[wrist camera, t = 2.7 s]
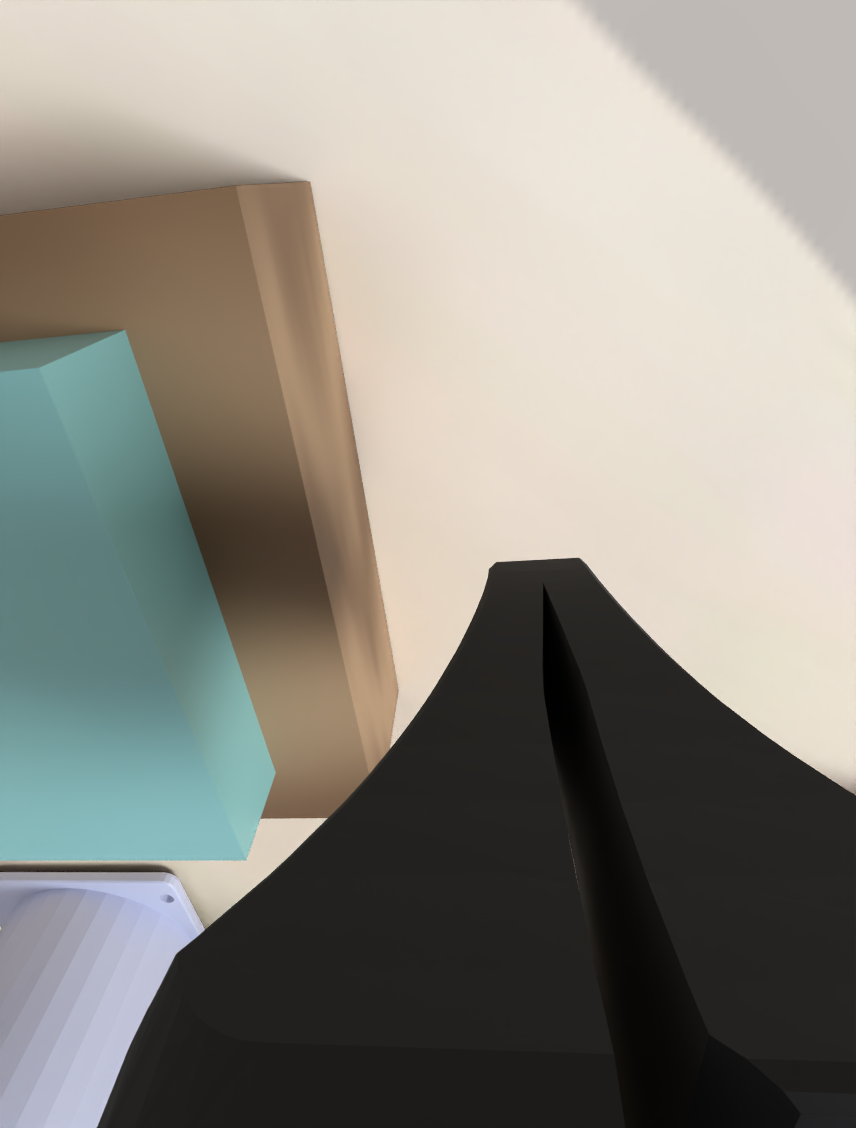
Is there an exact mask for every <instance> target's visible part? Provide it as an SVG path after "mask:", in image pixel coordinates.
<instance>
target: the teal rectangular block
mask: <svg viewBox="0 0 856 1128" xmlns="http://www.w3.org/2000/svg"><path fill="white" fill-rule="evenodd" d="M275 774H276V772H275V769H274V766H273V763H272V760H271V758H270V755H269V752H268V749H267V746H266V743H265V740H264V737H263V734H262V731H261V728H260V725H259V722H258V719H257V716H256V713H255V710H254V708H253V705H252V702H251V699H250V696H249V693H248V690H247V687H246V684H245V681H244V678H243V675H242V672H241V669H240V666H239V663H238V660H237V658H236V655H235V652H234V649H233V646H232V643H231V640H230V637H229V634H228V631H227V628H226V625H225V622H224V619H223V616H222V613H221V610H220V607H219V605H218V602H217V599H216V596H215V593H214V590H213V587H212V584H211V581H210V578H209V575H208V572H207V569H206V566H205V563H204V560H203V557H202V555H201V552H200V549H199V546H198V543H197V540H196V537H195V534H194V531H193V528H192V525H191V522H190V519H189V516H188V513H187V510H186V507H185V505H184V502H183V499H182V496H181V493H180V490H179V487H178V484H177V481H176V478H175V475H174V472H173V469H172V466H171V463H170V460H169V457H168V455H167V452H166V449H165V446H164V443H163V440H162V437H161V434H160V431H159V428H158V425H157V422H156V419H155V416H154V413H153V410H152V407H151V405H150V402H149V399H148V396H147V393H146V390H145V387H144V384H143V381H142V378H141V375H140V372H139V369H138V366H137V363H136V360H135V357H134V355H133V352H132V349H131V346H130V343H129V340H128V337H127V334H126V331H125V330H118V331H108V332H98V333H88V334H79V335H69V336H59V337H49V338H39V339H30V340H20V341H10V342H0V861H28V860H246V859H247V856H248V853H249V851H250V848H251V845H252V842H253V839H254V836H255V833H256V830H257V827H258V824H259V821H260V818H261V815H262V812H263V809H264V806H265V803H266V800H267V797H268V794H269V791H270V788H271V785H272V782H273V779H274V777H275Z"/></svg>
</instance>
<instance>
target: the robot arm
mask: <svg viewBox="0 0 856 1128" xmlns="http://www.w3.org/2000/svg"><path fill="white" fill-rule="evenodd" d="M569 840H570V842H569ZM570 845H571V847H570ZM571 850H572V852H571ZM572 854H573V857H572ZM573 859H574V863H573ZM574 864H575V868H574ZM575 870H576V873H575ZM576 875H577V879H576ZM577 881H578V884H577ZM578 887H579V888H578ZM0 926H1V928H2V929H1V931H0V1128H856V796H855V795H854V794H852V793H851V792H849V791H847V790H846V789H844V788H843V787H841V786H840V785H838V784H837V783H835V782H834V781H832V780H831V779H829V778H828V777H826V776H824V775H823V774H821V773H820V772H818V771H817V770H815V769H814V768H812V767H811V766H809V765H808V764H806V763H805V762H803V761H801V760H800V759H798V758H797V757H795V756H794V755H792V754H791V753H790V752H788V751H787V750H785V749H784V748H782V747H781V746H780V745H778V744H777V743H775V742H774V741H772V740H771V739H770V738H768V737H767V736H765V735H764V734H763V733H761V732H760V731H759V730H757V729H756V728H755V727H753V726H752V725H751V724H749V723H748V722H747V721H746V720H744V719H743V718H742V717H740V716H739V715H738V714H736V713H735V712H734V711H732V710H731V709H730V708H729V707H727V706H726V705H725V704H723V703H722V702H721V701H720V700H718V699H717V698H716V697H715V696H714V695H712V694H711V693H710V692H709V691H708V690H707V689H705V688H704V687H703V686H702V685H701V684H700V683H698V682H697V681H696V680H695V679H694V678H693V677H692V676H691V675H690V674H688V673H687V672H686V671H685V670H684V669H683V668H682V667H681V666H680V665H679V664H677V663H676V662H675V661H674V660H673V659H672V658H671V657H670V656H669V655H668V654H667V653H666V652H665V651H664V650H663V649H662V648H661V647H660V646H659V645H658V644H657V643H656V642H655V641H654V640H653V639H652V638H651V637H650V636H649V635H648V634H647V633H646V632H645V631H644V630H643V629H642V628H641V627H640V626H639V625H638V624H637V623H636V622H635V621H634V620H633V619H632V618H631V616H630V615H629V614H628V613H627V612H626V611H625V610H624V609H623V608H622V607H621V605H620V604H619V603H618V602H617V601H616V600H615V599H614V597H613V596H612V595H611V594H610V593H609V592H608V590H607V589H606V588H605V587H604V586H603V584H602V583H601V582H600V581H599V580H598V578H597V577H596V576H595V575H594V573H593V572H592V571H591V570H590V568H589V567H588V566H587V564H586V563H584V562H583V561H582V560H581V559H580V558H567V559H548V560H529V561H511V562H496V563H495V564H494V565H493V566H492V567H491V568H490V569H489V574H488V579H487V582H486V586H485V589H484V592H483V595H482V598H481V600H480V602H479V605H478V607H477V610H476V612H475V615H474V617H473V619H472V621H471V623H470V625H469V627H468V629H467V631H466V633H465V635H464V637H463V639H462V641H461V643H460V645H459V647H458V649H457V651H456V653H455V654H454V656H453V658H452V659H451V661H450V663H449V664H448V666H447V668H446V669H445V671H444V673H443V675H442V676H441V678H440V680H439V681H438V683H437V685H436V686H435V688H434V689H433V691H432V693H431V694H430V696H429V697H428V699H427V700H426V702H425V703H424V704H423V706H422V707H421V709H420V710H419V712H418V713H417V715H416V716H415V717H414V719H413V720H412V721H411V723H410V724H409V725H408V727H407V728H406V729H405V731H404V732H403V733H402V735H401V736H400V737H399V739H398V740H397V741H396V743H395V744H394V745H393V746H392V747H391V749H390V750H389V751H388V752H387V753H386V755H385V756H384V757H383V758H382V759H381V761H380V762H379V763H378V764H377V765H376V767H375V768H374V769H373V770H372V771H371V773H370V774H369V775H368V776H367V777H366V778H365V780H364V781H363V782H362V783H361V784H360V785H359V786H358V787H357V789H356V790H355V791H354V792H353V793H352V794H351V795H350V796H349V797H348V798H347V799H346V801H345V802H344V803H343V804H342V805H341V806H340V807H339V808H338V809H337V810H336V811H335V812H334V813H333V814H332V815H331V816H330V817H329V818H328V819H327V820H326V821H325V822H324V823H323V824H322V825H321V826H320V827H319V828H318V829H317V830H316V831H315V832H313V833H312V834H311V835H310V836H309V837H308V838H307V839H306V840H305V841H304V842H303V843H302V844H301V845H300V846H299V847H298V848H297V849H296V850H295V851H294V852H293V853H292V854H291V855H290V856H289V857H288V858H287V859H286V860H285V861H284V862H283V863H282V864H281V865H280V866H279V867H277V868H276V869H275V870H274V871H273V872H272V873H271V874H270V875H269V876H268V877H266V878H265V879H264V880H263V881H262V882H261V883H259V884H258V885H257V886H256V887H255V888H253V889H252V890H251V891H250V892H249V893H248V894H246V895H245V896H244V897H243V898H242V899H241V900H239V901H238V902H237V903H236V904H235V905H234V906H232V907H231V908H230V909H229V910H228V911H227V912H225V913H224V914H223V915H222V916H221V917H220V918H218V919H217V920H216V921H215V922H214V923H212V924H211V925H210V926H209V927H208V928H207V929H204V927H203V925H202V923H201V921H200V919H199V917H198V915H197V913H196V911H195V910H194V908H193V906H192V904H191V902H190V900H189V898H188V896H187V894H186V892H185V890H184V889H183V887H182V885H181V883H180V881H179V879H178V878H177V877H176V876H174V875H173V874H170V873H165V872H0Z"/></svg>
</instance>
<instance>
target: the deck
mask: <svg viewBox="0 0 856 1128" xmlns="http://www.w3.org/2000/svg"><path fill="white" fill-rule="evenodd" d="M118 330H125V331H126V334H127V337H128V340H129V343H130V346H131V349H132V352H133V355H134V357H135V360H136V363H137V366H138V369H139V372H140V375H141V378H142V381H143V384H144V387H145V390H146V393H147V396H148V399H149V402H150V405H151V407H152V410H153V413H154V416H155V419H156V422H157V425H158V428H159V431H160V434H161V437H162V440H163V443H164V446H165V449H166V452H167V455H168V457H169V460H170V463H171V466H172V469H173V472H174V475H175V478H176V481H177V484H178V487H179V490H180V493H181V496H182V499H183V502H184V505H185V507H186V510H187V513H188V516H189V519H190V522H191V525H192V528H193V531H194V534H195V537H196V540H197V543H198V546H199V549H200V552H201V555H202V557H203V560H204V563H205V566H206V569H207V572H208V575H209V578H210V581H211V584H212V587H213V590H214V593H215V596H216V599H217V602H218V605H219V607H220V610H221V613H222V616H223V619H224V622H225V625H226V628H227V631H228V634H229V637H230V640H231V643H232V646H233V649H234V652H235V655H236V658H237V660H238V663H239V666H240V669H241V672H242V675H243V678H244V681H245V684H246V687H247V690H248V693H249V696H250V699H251V702H252V705H253V708H254V710H255V713H256V716H257V719H258V722H259V725H260V728H261V731H262V734H263V737H264V740H265V743H266V746H267V749H268V752H269V755H270V758H271V760H272V763H273V766H274V769H275V772H276V774H275V777H274V779H273V782H272V785H271V788H270V791H269V794H268V797H267V800H266V803H265V806H264V809H263V812H262V815H261V818H260V819H262V818H329V817H330V816H331V815H332V814H333V813H334V812H335V811H336V810H337V809H338V808H339V807H340V806H341V805H342V804H343V803H344V802H345V801H346V799H347V798H348V797H349V796H350V795H351V794H352V793H353V792H354V791H355V790H356V789H357V787H358V786H359V785H360V784H361V783H362V782H363V781H364V780H365V778H366V777H367V776H368V775H369V774H370V773H371V771H372V770H373V769H374V768H375V767H376V765H377V764H378V763H379V762H380V761H381V759H382V758H383V757H384V756H385V755H386V753H387V752H388V751H389V749H390V743H391V736H392V730H393V723H394V717H395V711H396V704H397V698H398V685H397V679H396V674H395V668H394V662H393V656H392V650H391V645H390V639H389V633H388V627H387V622H386V616H385V610H384V604H383V599H382V593H381V587H380V581H379V576H378V570H377V564H376V558H375V553H374V547H373V541H372V535H371V529H370V524H369V518H368V512H367V506H366V501H365V495H364V489H363V483H362V478H361V472H360V466H359V460H358V455H357V449H356V443H355V437H354V431H353V426H352V420H351V414H350V408H349V403H348V397H347V391H346V385H345V380H344V374H343V368H342V362H341V357H340V351H339V345H338V339H337V333H336V328H335V322H334V316H333V310H332V305H331V299H330V293H329V287H328V282H327V276H326V270H325V264H324V259H323V253H322V247H321V241H320V236H319V230H318V224H317V218H316V212H315V207H314V201H313V195H312V189H311V184H310V182H294V183H274V184H255V185H236V186H228V187H220V188H212V189H204V190H196V191H189V192H181V193H173V194H165V195H157V196H149V197H141V198H133V199H125V200H118V201H110V202H102V203H94V204H86V205H78V206H70V207H62V208H55V209H47V210H39V211H31V212H23V213H15V214H7V215H0V342H10V341H20V340H30V339H39V338H49V337H59V336H69V335H79V334H88V333H98V332H108V331H118Z"/></svg>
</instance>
